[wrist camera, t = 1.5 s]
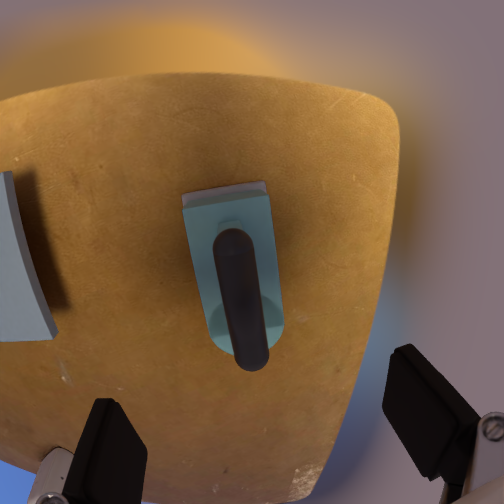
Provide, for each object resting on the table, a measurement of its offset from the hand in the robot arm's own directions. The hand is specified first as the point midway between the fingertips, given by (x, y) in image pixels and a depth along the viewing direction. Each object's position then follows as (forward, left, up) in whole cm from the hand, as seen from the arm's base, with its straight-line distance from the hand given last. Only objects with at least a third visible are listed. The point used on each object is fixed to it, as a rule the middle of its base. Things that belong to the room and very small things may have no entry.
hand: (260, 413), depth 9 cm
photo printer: (+28, -33, -16) cm, 46 cm away
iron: (0, 0, -15) cm, 15 cm away
